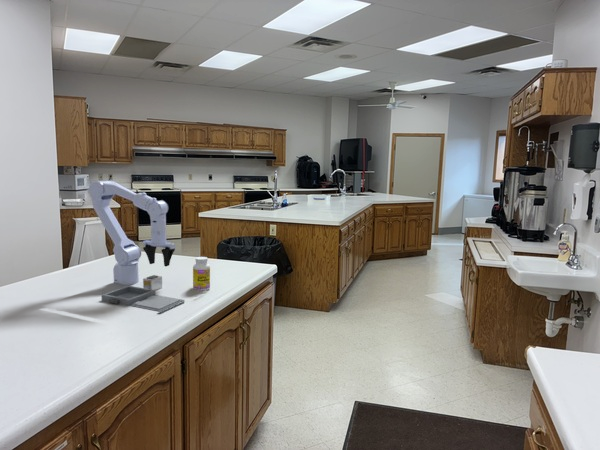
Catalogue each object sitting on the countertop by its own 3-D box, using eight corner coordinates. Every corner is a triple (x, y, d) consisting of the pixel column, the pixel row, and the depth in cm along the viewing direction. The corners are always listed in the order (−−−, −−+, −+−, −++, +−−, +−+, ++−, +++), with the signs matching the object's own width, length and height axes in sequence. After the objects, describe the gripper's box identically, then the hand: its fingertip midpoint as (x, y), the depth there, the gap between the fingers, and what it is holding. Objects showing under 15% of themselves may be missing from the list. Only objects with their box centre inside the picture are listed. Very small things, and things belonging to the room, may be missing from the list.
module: (143, 291, 170) (142, 277, 169) (154, 287, 175) (154, 274, 175) (151, 292, 168) (151, 279, 167) (162, 288, 174) (161, 275, 173)
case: (99, 303, 156) (98, 295, 156) (128, 293, 169) (128, 285, 169) (157, 315, 146) (157, 306, 146) (184, 303, 159) (184, 295, 158)
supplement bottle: (195, 292, 172) (195, 260, 170) (191, 288, 178) (190, 257, 176) (212, 290, 175) (211, 259, 173) (207, 286, 181) (207, 255, 179)
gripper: (137, 231, 173) (138, 264, 175) (166, 234, 168) (166, 269, 170) (150, 228, 180) (150, 261, 182) (178, 231, 174) (178, 265, 176)
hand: (159, 264), depth 176 cm, fingers open, 7 cm apart
